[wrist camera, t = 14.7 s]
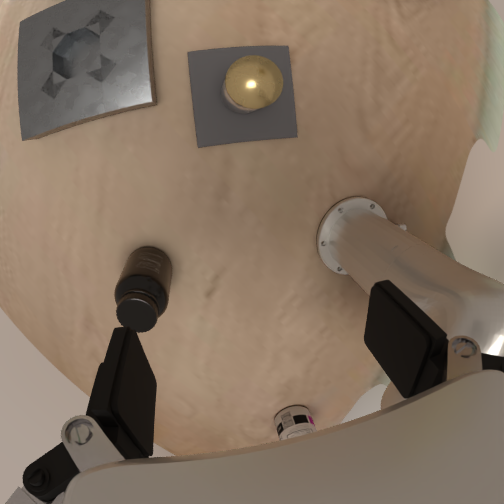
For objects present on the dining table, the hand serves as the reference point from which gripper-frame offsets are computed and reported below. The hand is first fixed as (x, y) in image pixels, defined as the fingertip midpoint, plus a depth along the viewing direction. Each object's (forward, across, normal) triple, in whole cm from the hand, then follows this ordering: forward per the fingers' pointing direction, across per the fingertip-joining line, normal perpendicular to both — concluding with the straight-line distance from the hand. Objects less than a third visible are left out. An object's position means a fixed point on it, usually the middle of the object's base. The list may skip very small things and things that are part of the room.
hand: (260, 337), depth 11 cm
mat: (+30, -5, -12) cm, 33 cm away
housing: (+30, +15, -21) cm, 40 cm away
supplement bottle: (+31, +11, +10) cm, 34 cm away
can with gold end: (+30, -5, -12) cm, 32 cm away
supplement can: (+31, -9, +52) cm, 61 cm away
